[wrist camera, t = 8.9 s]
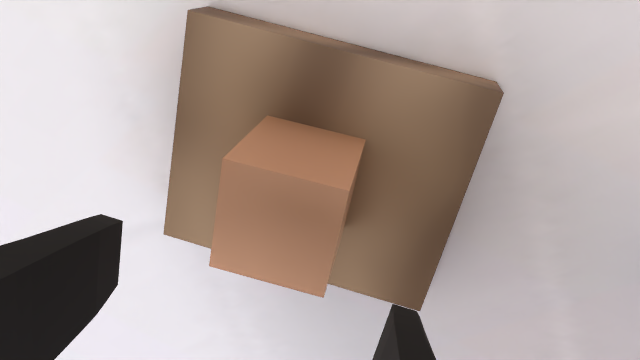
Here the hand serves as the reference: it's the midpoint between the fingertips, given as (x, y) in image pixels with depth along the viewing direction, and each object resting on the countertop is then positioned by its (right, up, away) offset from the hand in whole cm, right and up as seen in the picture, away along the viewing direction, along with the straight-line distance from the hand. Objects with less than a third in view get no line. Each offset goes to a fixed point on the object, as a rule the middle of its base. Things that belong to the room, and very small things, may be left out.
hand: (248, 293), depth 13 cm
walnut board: (+2, +4, +10) cm, 11 cm away
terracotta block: (+1, +3, +8) cm, 9 cm away
